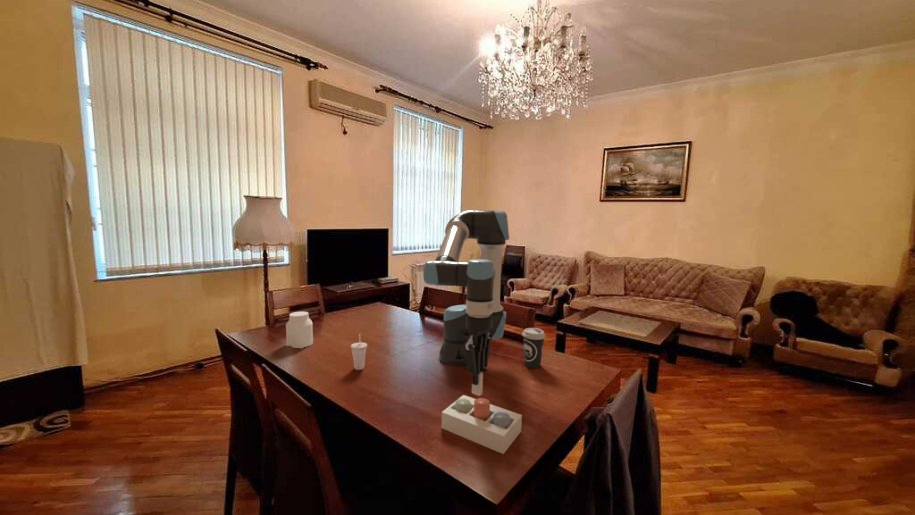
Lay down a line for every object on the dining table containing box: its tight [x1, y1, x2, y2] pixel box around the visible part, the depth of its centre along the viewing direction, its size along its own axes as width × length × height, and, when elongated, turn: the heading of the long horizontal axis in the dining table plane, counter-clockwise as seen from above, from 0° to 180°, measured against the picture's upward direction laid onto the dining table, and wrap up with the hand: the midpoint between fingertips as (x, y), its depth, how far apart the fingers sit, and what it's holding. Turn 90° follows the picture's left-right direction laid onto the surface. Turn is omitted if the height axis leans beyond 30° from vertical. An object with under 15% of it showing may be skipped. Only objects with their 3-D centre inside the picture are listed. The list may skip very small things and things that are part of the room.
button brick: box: [474, 397, 491, 421], centre depth 101 cm, size 5×5×6 cm
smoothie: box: [350, 333, 368, 371], centre depth 140 cm, size 6×6×14 cm
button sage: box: [455, 398, 471, 414], centre depth 105 cm, size 5×5×6 cm
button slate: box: [493, 412, 510, 429], centre depth 98 cm, size 5×5×6 cm
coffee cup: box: [521, 327, 546, 369], centre depth 146 cm, size 10×10×15 cm
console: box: [441, 394, 523, 455], centre depth 101 cm, size 20×12×5 cm, turn 57°
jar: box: [285, 311, 314, 349], centre depth 165 cm, size 12×10×15 cm
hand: (477, 393), depth 101 cm, fingers closed
